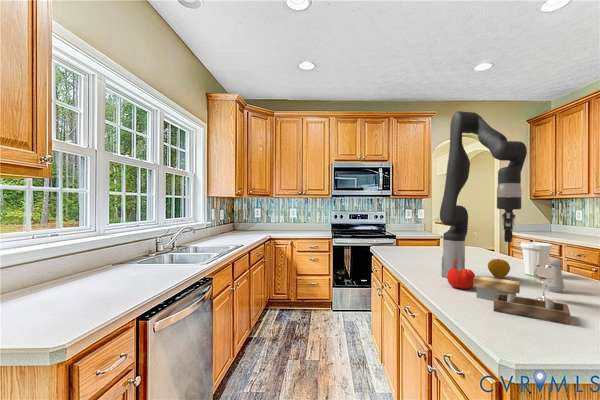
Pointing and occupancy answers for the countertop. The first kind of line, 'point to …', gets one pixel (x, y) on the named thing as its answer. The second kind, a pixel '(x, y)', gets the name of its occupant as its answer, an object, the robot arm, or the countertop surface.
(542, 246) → the cup
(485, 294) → the stand
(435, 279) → the countertop surface
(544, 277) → the wineglass
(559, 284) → the salt shaker
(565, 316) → the peg frame
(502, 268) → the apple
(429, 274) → the countertop surface
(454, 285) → the tomato
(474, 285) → the board
